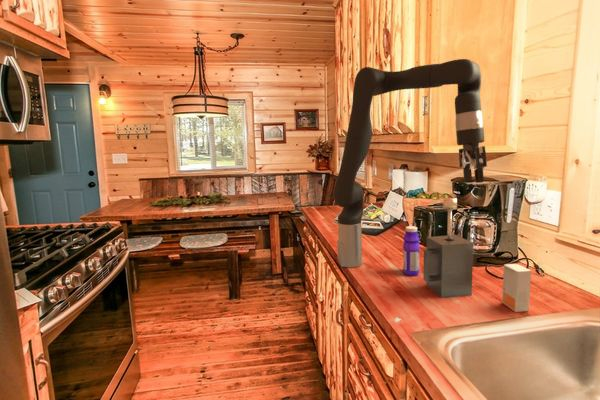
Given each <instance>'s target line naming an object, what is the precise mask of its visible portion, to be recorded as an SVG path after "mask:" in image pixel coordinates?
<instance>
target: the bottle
mask: <svg viewBox="0 0 600 400" xmlns="http://www.w3.org/2000/svg"><path fill="white" fill-rule="evenodd" d="M419 241H420V237H419V235H418V227H417V226H414V225H409V226H406V227H405V234H404V236H403V246H402V250H403V259H402V260H403V263H402V264H403V266H402V270H403V272H404V274H405V275H406V276H409V277H410V276H412V277H413V276H418V275H419V274H420V242H419Z"/></svg>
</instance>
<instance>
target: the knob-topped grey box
mask: <svg viewBox="0 0 600 400" xmlns="http://www.w3.org/2000/svg"><path fill="white" fill-rule="evenodd" d="M473 264H474V242H472V241H470V240H467V239H466V238H463V237H461V236H459V235H457V234H451V241H447V235H438V236H437V235H436V236H427V237H426V248H425V249H423V266H422V267H423V268H422V269H423V273H422V274H423V275H422V276H423V278H422V279H423V280H424V281H425V283H426V285H425V286H426V287H427V288H428V289H429V290H431V291H432V292H433V293H435V294H436V295H437V296H438V297H439V298H443V299H444V298H453V297H454V298H455V297H463V296H464V297H465V296H473V268H474V267H473V266H474V265H473Z"/></svg>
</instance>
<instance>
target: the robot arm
mask: <svg viewBox="0 0 600 400" xmlns="http://www.w3.org/2000/svg"><path fill="white" fill-rule="evenodd" d="M446 85H457V95H456V96H455V98H454V110H455V111H454V112H455V122H454V124H455V133H456V144H457V146H462V148H459V149H458V161H459V167H460V168H461V170H462V171H463V180H464V182H470V181H472V180H473V177H472V167H473V169H474V170H473V174H474V183H476V184H477V183H483V182H485V180H484V169H485V168H486V167H488V164H487V163H488V162H487V153H486V146H485V145H480V144H481V143H484V142H485V132H484V131H485V128H484V120H483V119H484V118H483V113H482V103H481V89H482V71H481V68H480V66H479V64H478V63H477V62H475V61H472V60H470V59H467V58H459V59H453V60H449V61H446V62H442V63H432V64H424V65H417V66H414V67H411V68H408V69H404V70H399V71H398V70H397V71H389V70H388V71H386V70H381V69H379V68H374V67H369V66H365V67H362V68H361V69H360V70H359V71H358V72H357V74H356V76H355V78H354V83H353V94H352V101H351V102H352V105H351V110H350V116H349V122H348V127H347V132H346V136H345V141H344V146H343V148H344V149H343V154H342V158H341V163H340V167H339V171H338V174H337V178H336V181H335V185H334V189H333V200H334V203H335V204H336V205H337V206H338V207H341V208H342V211H341V212H340V213H339V214H338V216H337V232H338V233H337V234H338V236H337V241H336V245H337V246H336V248H337V249H336V250H337V263H338V265H339V266H340V267H341V268H357V267H361V266H362V264H363V250H362V249H363V248H362V246H363V243H362V242H363V240H362V238H363V237H362V217H363V215H364V205H365V204H364V201H365V198H364V190H363V186H362V185H361V184H360V183H359V182H357V181H356V178H357V175H358V171H359V170H360V169H361V168H360V167H362V165H363V163H364V161H365V160H366V158H367V156H368V154H369V151H370V148H371V142H372V139H373V127H372V121H371V106H372V102H373V98H374V97H377V96H380V95H383V94H387V93H391V92H395V91H401V90H416V89H418V90H419V89H431V88H432V89H433V88H440V87H443V86H446Z"/></svg>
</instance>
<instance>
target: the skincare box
mask: <svg viewBox="0 0 600 400" xmlns="http://www.w3.org/2000/svg"><path fill="white" fill-rule="evenodd" d="M502 276H503V277H502V278H503V279H502V297H501V303H502V304H503V305H505V306H507V308H509V309H510V310H512V311H514V312H515V313H521V312H529V311H530V298H531V297H530V296H531V282H532V281H531V279H532V270H531V269H529V268H526V267H525V266H523V265H521V264H518V263H506V264H503V274H502Z"/></svg>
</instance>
